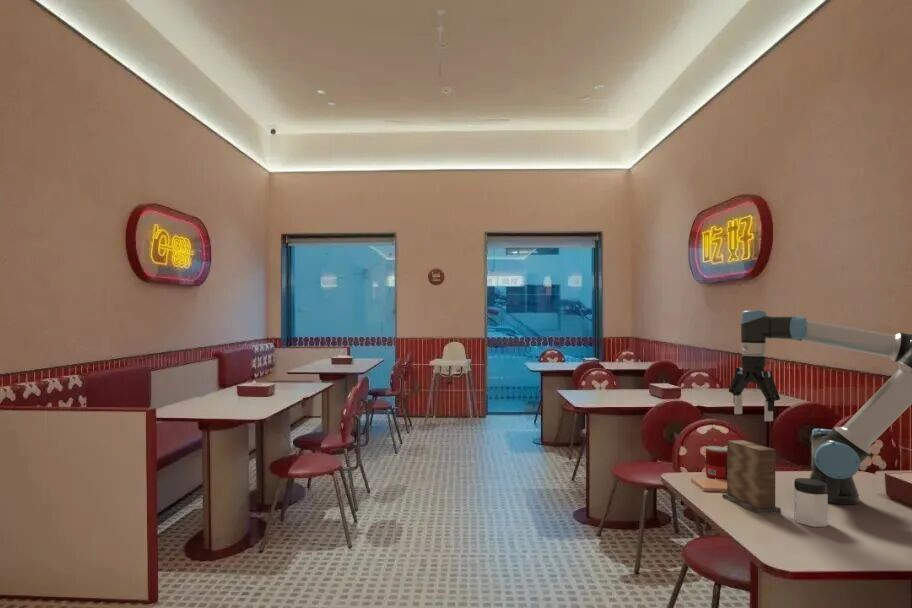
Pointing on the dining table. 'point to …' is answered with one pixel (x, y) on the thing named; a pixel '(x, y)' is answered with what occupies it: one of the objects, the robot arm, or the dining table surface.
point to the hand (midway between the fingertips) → (753, 417)
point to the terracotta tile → (710, 484)
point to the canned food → (716, 462)
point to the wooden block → (751, 476)
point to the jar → (810, 502)
